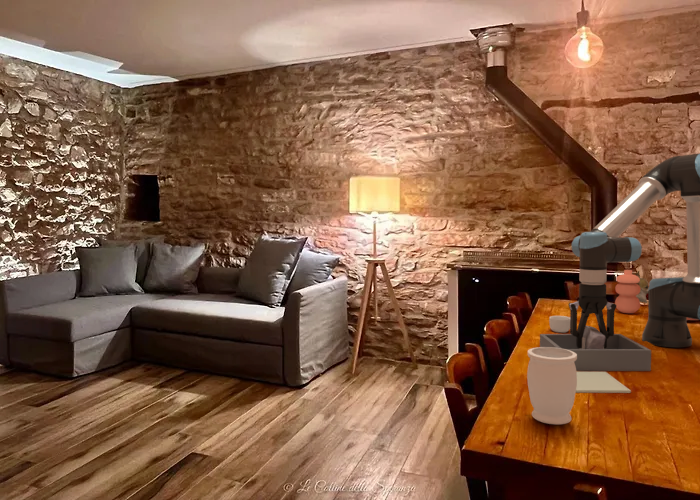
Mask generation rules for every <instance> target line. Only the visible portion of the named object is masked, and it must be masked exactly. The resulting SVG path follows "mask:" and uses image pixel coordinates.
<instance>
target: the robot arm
mask: <svg viewBox="0 0 700 500" xmlns="http://www.w3.org/2000/svg"><path fill="white" fill-rule="evenodd" d="M674 192H680V198H681V199H682V200H683V201H685V204H686V207H685V208H686V254H687V255H686V256H687V264H686V265H687V273H686V274H687V275H685V276H681V277H679V276H677V277H656V278H652V279H651V280H650V281H649V282H648V284H649V285H648V287H649V289H648V293H647V294H648V298H647V299H648V300H647V304H648V305H647V307H648V317H647V321H646V324H645V327H644V329H643V331H642V335H641V336H642V337H641V340H642V341H643V342H647V343H649V344H651V345H653V346H657V347H667V348H687V347H691V346H692V345H693V344H692V343H693V338H692V335H691V332H690V329H689V326H688V323H687V320H686V318H687V317H688V318H693V319H697V320H696V321H700V152H699V153H692V154H691V153H690V154H685V155H676V156H672V157H669V158H667V159H665V160H663V161H662V162H659V163H658V164H657V165H655V166H654V167H652V168H651V169H650V170H649V171H647V172H646V174H645V175H643V176H642V177H640V179H639V181H638V185H637V186H636V187H635V188H634V189H633V190H632V191H631V192H630V193H628V195H627V196H626V197H624V199H623V200H622V201H620V202H619V203H618V204H617V205H616V206H615V207H614V208H613V209H612V210H611V211H610V212H609V213H608V214H607V215H606V216H605V217H604V218H603V219H602V220H601V221H599V223H598V224H597V225H596V226H594V227H593V228H592V229H591V230H590V231H584V232H581V234H580V235H578V236H576V237H574V238H573V240H572V242H571V251H572V253H573V254H574V256H576V257H578V258H579V271H578V272H579V278H578V279H579V282H580V283H579V284H578V299H577V301H575V302H569V303H568V308H569V310H570V312H569V313H570V314H569V315H570V316H569V317H570V329H569V334H572V335H573V336H576V346H577V347H578V348H579V349H585V338H583V334H584V330H585V327H586V326H587V323H588V320H589V317H590V315H592V314H593V315H595V317H596V321H597V326H598V331H600V332H601V333H602V334H603V335H604V336H605V337H606V338H605V343H604V347H603V349H604V348H606V347H607V339H608V338H609V337H610V336H613V335H614V334H615V311H616V309H617V308H616V304H615V302H614V303H613V302H609V301H608V300H607V285H606V283H607V277H608V276H607V269H608V267H607V266H608V263H629V262H635V261H637V260H639V258H640V257H641V256H642V251H643V247H642V244H641V242H640V240H639V239H637V238H636V237H629V236H625V237H620V236H621V235H623V233H624V232H625V231H626V230H627V229H629V227H630V226H631V225H633V223H634V222H636V221H637V220H638V218H640V217H641V216H642V215H643V214H644V213H645V212H646V211H647V210H648V209H649V208H650V207H651V206H652V205H653V204H654V203H655V202H656V201H660V200H663V199H664V198H665V197H666V196H667V195H669V194H671V193H674ZM579 307H580V309H581V313H580V318H579V322H578V309H579ZM605 307H606V323H605V318H604V312H603V310H604V309H605Z"/></svg>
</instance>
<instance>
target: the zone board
mask: <svg viewBox="0 0 700 500" xmlns="http://www.w3.org/2000/svg"><path fill="white" fill-rule="evenodd" d="M576 373H577V387H576V393H577V394H580V393H581V394H582V393H583V394H586V393H589V394H590V393H591V394H595V393H596V394H598V393H599V394H605V393H606V394H613V393H614V394H615V393H616V394H618V393H619V394H620V393H621V394H622V393H623V394H627V393H628V394H630V393H632V390H631V389H629V388H628V387H627V386H626V385H624V384H623V383H621V382H620V381H619V380H618V379H616V378H615V377H614V376H612V375H611V374H609V373H608V372H607V371H576ZM576 393H575V394H576Z"/></svg>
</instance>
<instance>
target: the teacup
mask: <svg viewBox="0 0 700 500" xmlns="http://www.w3.org/2000/svg"><path fill="white" fill-rule="evenodd" d="M548 322H549V327H550V330H551V331H552V332H554V333H557V334H567V333H568V332H570V316H566V315H565V316H564V315H552V316H551V315H550V316H549V320H548Z"/></svg>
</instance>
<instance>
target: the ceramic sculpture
mask: <svg viewBox="0 0 700 500" xmlns="http://www.w3.org/2000/svg"><path fill="white" fill-rule="evenodd" d="M634 275H636V276H638V277H639V278H640V281H639V282H638V283H636V284H638V285H639V286H640V289H641V290H640V293H639V294H637V295H636V297H637V298H638V299H639V301H640V303H645V304H646V303H647V304H648V300H647V297H646V296H647V294H648V289H649V281H648V280H647V279H646V278H643V277H641V274H640V270H638V271H637V272H636V273H635V274H634Z"/></svg>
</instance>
